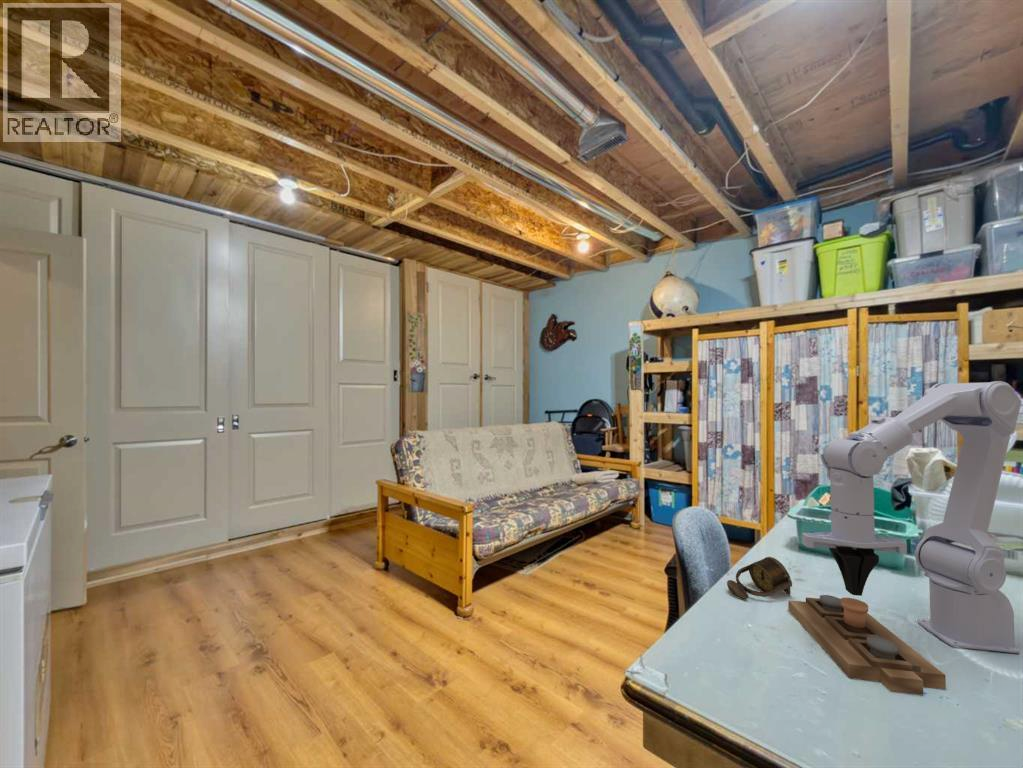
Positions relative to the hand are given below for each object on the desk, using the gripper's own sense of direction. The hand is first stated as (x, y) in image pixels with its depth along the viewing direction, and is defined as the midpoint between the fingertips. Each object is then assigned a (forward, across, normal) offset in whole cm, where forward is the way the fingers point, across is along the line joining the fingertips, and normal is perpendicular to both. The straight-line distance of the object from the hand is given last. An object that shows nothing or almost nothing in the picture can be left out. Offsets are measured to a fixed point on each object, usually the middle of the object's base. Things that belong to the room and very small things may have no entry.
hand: (853, 592), depth 71 cm
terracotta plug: (+5, 0, 0) cm, 5 cm away
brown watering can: (+9, +9, -18) cm, 22 cm away
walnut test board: (+8, 0, 0) cm, 8 cm away
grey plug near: (+8, 0, +7) cm, 10 cm away
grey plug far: (+8, 0, -7) cm, 10 cm away
